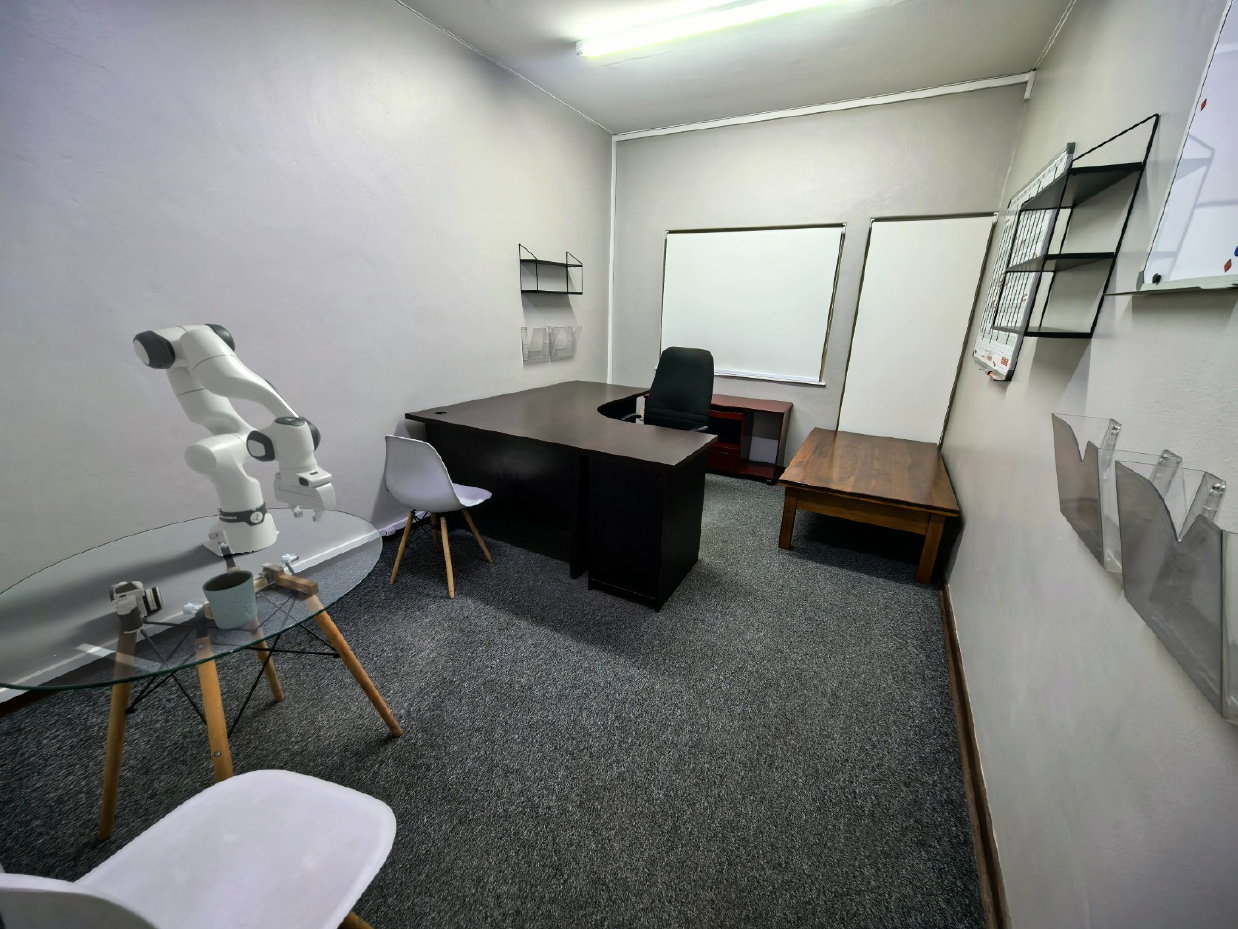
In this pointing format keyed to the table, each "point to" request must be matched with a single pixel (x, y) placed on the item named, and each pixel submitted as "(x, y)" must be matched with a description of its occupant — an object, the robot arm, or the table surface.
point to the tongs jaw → (292, 580)
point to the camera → (134, 604)
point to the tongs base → (258, 585)
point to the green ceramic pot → (231, 598)
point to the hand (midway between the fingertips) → (308, 519)
